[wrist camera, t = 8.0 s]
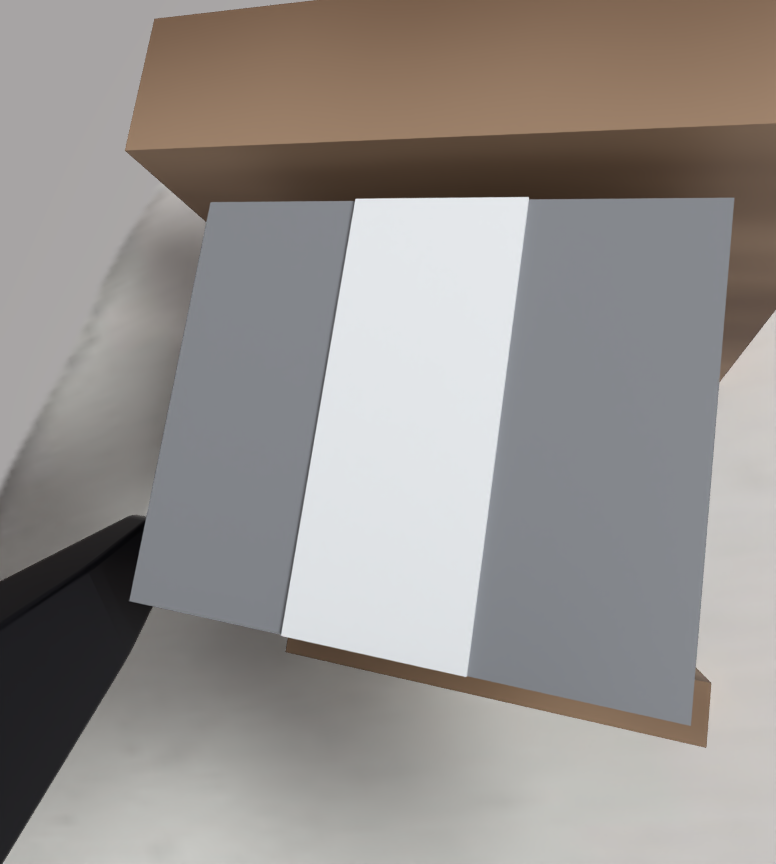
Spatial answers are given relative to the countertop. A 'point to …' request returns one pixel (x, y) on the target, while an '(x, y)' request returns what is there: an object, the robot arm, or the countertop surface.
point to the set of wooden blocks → (479, 143)
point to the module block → (452, 436)
